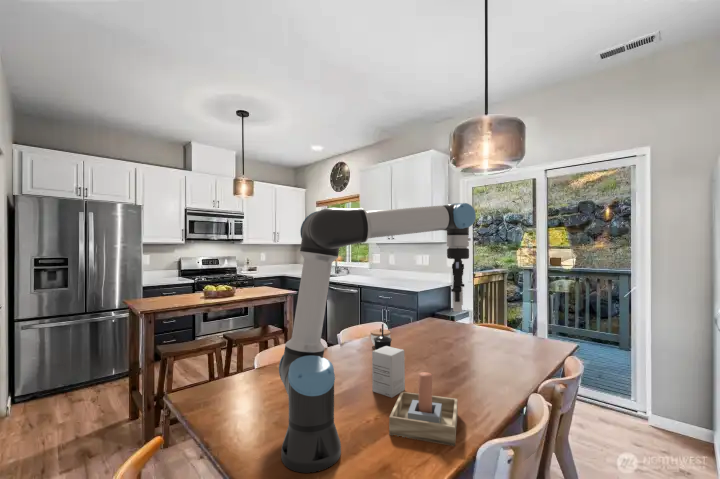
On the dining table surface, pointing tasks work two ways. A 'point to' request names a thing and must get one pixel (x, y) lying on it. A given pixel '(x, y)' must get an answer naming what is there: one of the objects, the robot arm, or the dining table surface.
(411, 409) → the socket
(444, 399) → the crate
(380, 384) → the supplement box
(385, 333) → the lidded jar
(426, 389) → the peg
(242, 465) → the dining table surface
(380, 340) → the drinking cup
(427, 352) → the dining table surface
